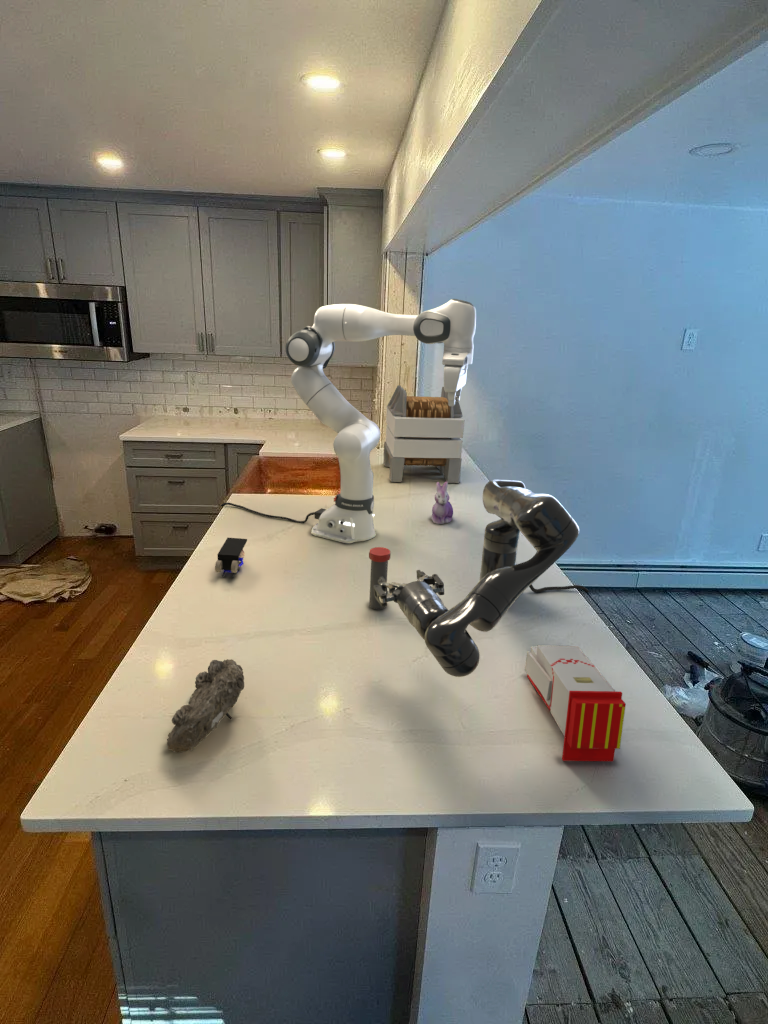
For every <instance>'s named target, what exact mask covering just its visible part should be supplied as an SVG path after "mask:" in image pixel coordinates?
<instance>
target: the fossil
mask: <svg viewBox="0 0 768 1024" xmlns="http://www.w3.org/2000/svg"><path fill="white" fill-rule="evenodd" d="M243 670H244V669H243V667H242V665H240V664H237V662H236V661H235V660H234V659H232V658H231V659H227V658H226V659H224V660H223V661H222V660H217V659H212V660H211V661H210V663H209V665H208V666H207V671H201V672H199V673H198V674H197V675H196V676H195V680H194V684H195V685H194V687H195V689H194V690H193V693H192V694H191V697H190V698H189V700H188V704H184V705H182V706H181V707H180V709H177V710H176V711H175V713H174V715H173V716H172V718H171V723H172V724H173V727H172V730H171V731H170V732H168V734H167V738H166V741H167V742H166V745H167V749H168V750H169V751H173V752H174V753H176V754H178V753H182V752H188V751H189V752H192V751H193V750H195V748H196V747H197V746H199V744H200V743H201V742H203V741H204V740H205V739H206V738H207V737H208V736H209V735H210V734H211V733H212V732H214V730H215V729H217V727H218V726H219V724H220V722H221V721H222V720H223V719H224V718H225V716H226V717H227V719H229V720H233V717H232V715H230V714H229V710H230V709H231V708H234V706H235V704H236V703H237V702H238V699H239V697H240V695H241V693H242V691H243V690H245V689H244V688H245V675H244V671H243Z"/></svg>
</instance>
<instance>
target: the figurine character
mask: <svg viewBox="0 0 768 1024" xmlns="http://www.w3.org/2000/svg"><path fill="white" fill-rule="evenodd" d="M247 542H248V538H240V537H226V539H225V541H224V543H223V544H222V546H221V547H220V549H219V551H218V552H217V560H216V562H215V564H214V572H215V573H221V577H222V578H224V577H225V576H226V574H227V573H230V574H231V573H232V574H231V578H234V577H235V575H236V573H237V572H239V571H240V567H242V566H243V565H244V564H245V562H244V558H245V551H244V547H245V546H246V544H247Z"/></svg>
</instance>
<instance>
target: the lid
mask: <svg viewBox="0 0 768 1024" xmlns="http://www.w3.org/2000/svg"><path fill="white" fill-rule="evenodd" d="M368 558H369V560H370V561H371V560H372V561H375V562H386V561H388V562H389V561H390V559H391V550H390V549H389V548H386V547H383V546H378V547H377V546H375V547H372V548H370V549H369V552H368Z"/></svg>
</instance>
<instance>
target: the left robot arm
mask: <svg viewBox="0 0 768 1024" xmlns="http://www.w3.org/2000/svg"><path fill="white" fill-rule="evenodd" d="M476 327H477V309H476V306H475V305H474V304H473V303H472V302H470V301H467V300H463V299H458V298H451V299H450V300H448V301H447V302H445V303H444V304H441V305H439V306H437V307H435V308H431V309H427V310H424V311H422V312H421V313H419V314H399V313H391V312H386V311H383V310H380V309H377V308H374V307H370V306H366V305H361V304H355V303H335V304H327V305H322V306H320V307H318V308H317V309H316V311H315V313H314V317H313V325H312V326H310V325H306V326H305V327H303V328H301V329H299V330H298V331H295V333H293V334H292V335H291V336H290V337H289V338H288V339H287V340H286V344H285V354H286V357H287V359H289V361H290V362H292V364H294V365H296V366H297V367H295V369H294V370H293V371H292V373H291V375H290V380H291V381H290V383H291V384H292V386H293V388H294V390H295V391H296V393H297V395H298V396H299V397H300V399H301V400H302V401H303V403H304V404H305V405H306V407H307V408H308V409H309V410H310V411H311V412H312V413H313V415H314V416H315V417H316V418H317V419H318V420H319V422H320V423H321V424H323V425H324V426H326V427H328V428H330V429H331V430H332V431H334V432H335V433H336V436H335V438H334V439H333V443H332V446H333V448H332V449H333V451H334V454H335V455H336V457H337V462H338V466H339V473H340V488H339V489H340V490H339V491H338V492H337V494H336V495H335V496H334V497H333V502H334V504H333V505H331V506H329V507H328V508H319V509H318V510H316V511H313V512H310V513H308V514H307V515H306V516H305V519H304V520H296V519H293V518H290V517H286V516H279V515H273V514H272V515H271V514H266V513H263V512H259V511H257V510H254V509H251V508H248V507H246V506H243V505H240V504H236V503H232V502H223V503H222V504H220V507H225V506H231V507H235V508H239V509H242V510H245V511H247V512H249V513H253V514H256V515H259V516H262V517H265V518H266V517H267V518H270V519H279V520H285V521H290V522H293V523H297V524H306V523H307V522H308V521H309V518H310V517H311V516H313V515H314V517H313V518H314V519H315V520H318V521H317V523H315V524H314V525H313V526H312V528H311V530H310V533H311V536H315V537H319V538H323V539H326V540H330V541H336V542H339V543H343V544H352V543H357V542H365V541H368V540H372V539H373V538H375V537H376V535H377V532H376V528H375V523H374V517H375V513H373V512H374V509H375V496H374V472H373V470H372V466H371V465H372V464H371V460H370V459H371V457H370V455H371V452H372V451H373V450H374V449H376V448H377V446H378V445H379V442H380V439H381V436H382V435H381V429H380V427H379V425H378V424H377V423H376V422H375V421H373V420H371V419H369V418H368V417H366V415H364V414H363V413H362V412H361V411H360V410H358V409H357V408H356V407H355V406H353V404H352V403H350V402H349V400H347V399H346V398H345V397H344V396H343V394H342V393H341V392H340V391H339V389H338V388H337V387H336V386H335V385H334V384H333V382H332V381H331V380H330V379H329V378H328V377H327V376H326V374H325V372H324V369H326V368H327V366H328V365H329V362H330V360H331V359H332V357H333V356H334V352H335V350H336V343H335V342H353V343H356V342H366V341H371V340H376V339H378V338H384V337H388V336H409V337H415V338H416V339H417V340H418V341H420V343H423V344H426V345H434V344H435V345H436V344H443V354H442V362H441V364H442V365H443V387H444V390H445V392H448V400H449V401H448V405H449V406H454V405H455V402H460V400H461V393H462V390H463V388H464V387H465V386H466V383H467V373H468V368H469V365H473V360H474V359H473V358H474V347H475V345H474V337H475V334H476Z"/></svg>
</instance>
